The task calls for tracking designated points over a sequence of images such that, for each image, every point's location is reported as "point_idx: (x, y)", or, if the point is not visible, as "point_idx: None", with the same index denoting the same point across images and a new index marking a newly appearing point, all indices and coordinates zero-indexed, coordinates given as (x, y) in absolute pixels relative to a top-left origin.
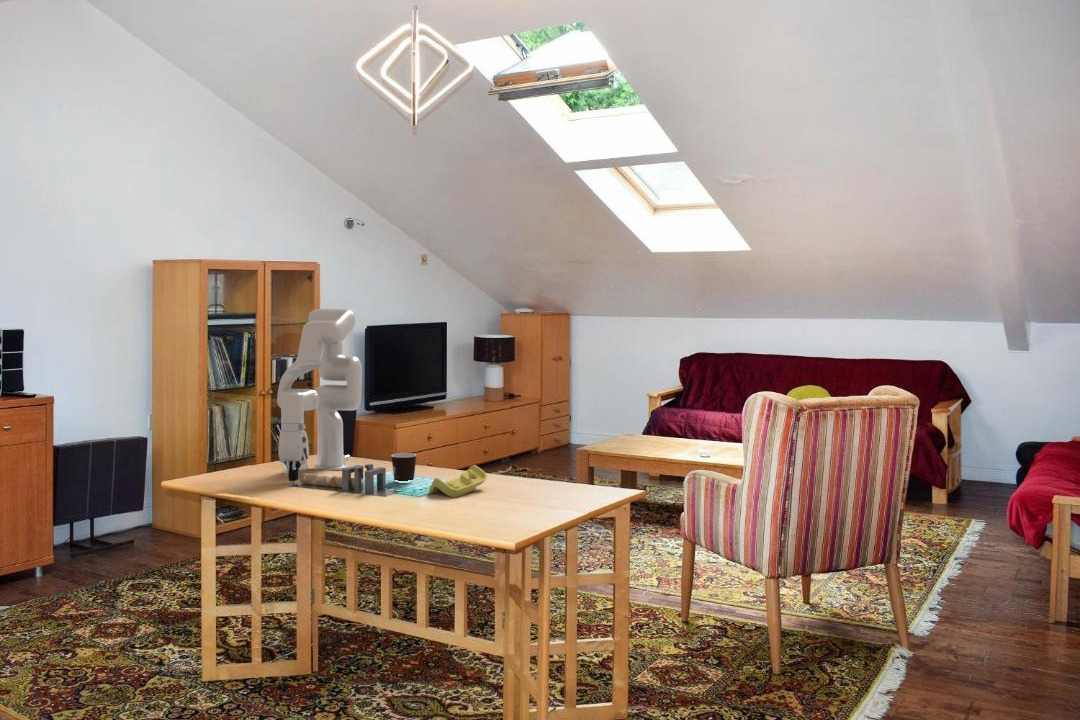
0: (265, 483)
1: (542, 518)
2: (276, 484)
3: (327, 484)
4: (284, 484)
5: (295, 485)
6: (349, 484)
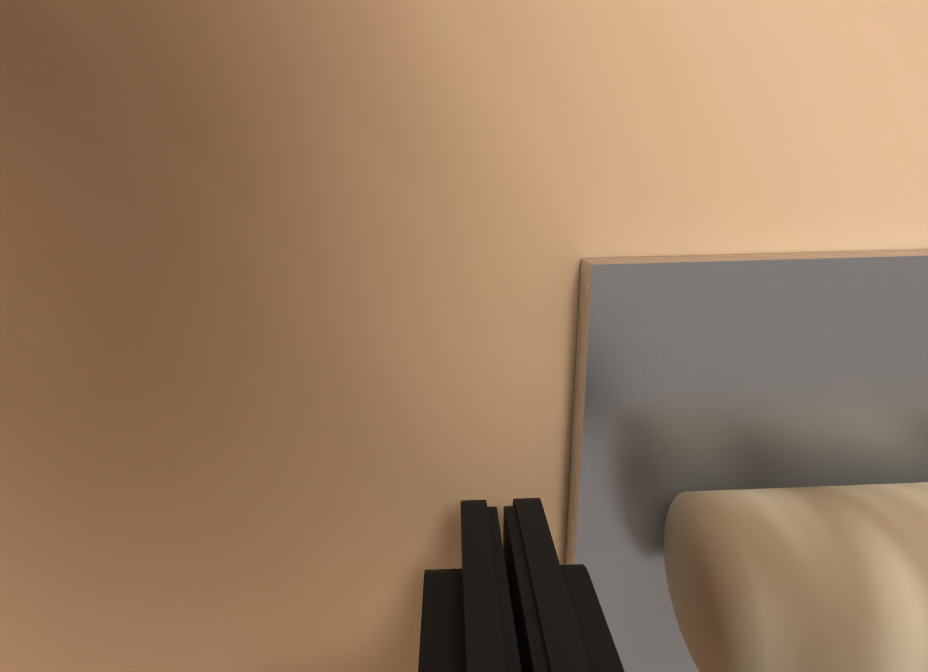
0: (75, 600)
1: None
2: (260, 584)
3: None
4: (355, 541)
5: (654, 655)
6: None
